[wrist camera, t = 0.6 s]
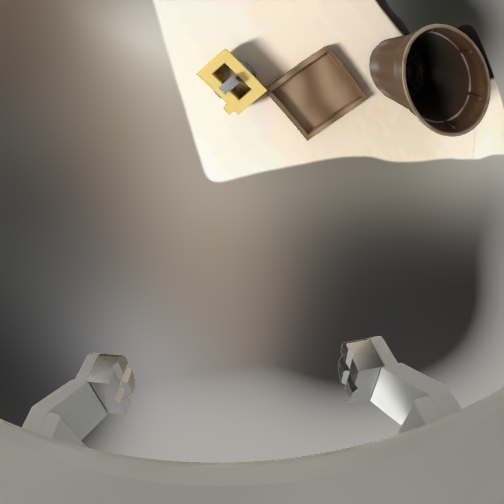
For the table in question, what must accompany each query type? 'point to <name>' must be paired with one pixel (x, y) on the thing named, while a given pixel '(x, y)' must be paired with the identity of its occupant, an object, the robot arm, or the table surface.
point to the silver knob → (233, 80)
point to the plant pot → (435, 77)
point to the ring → (231, 98)
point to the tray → (316, 92)
